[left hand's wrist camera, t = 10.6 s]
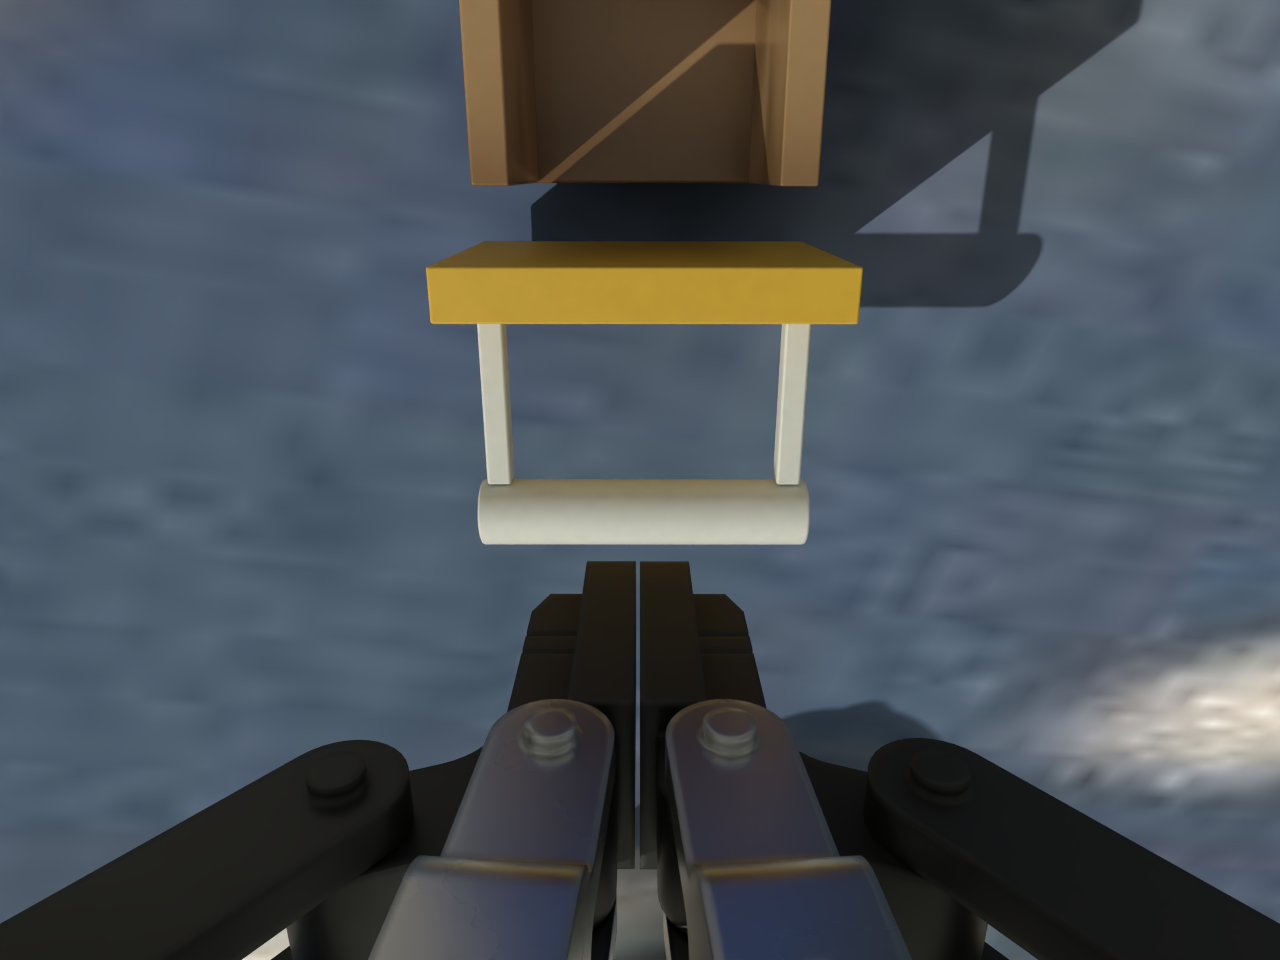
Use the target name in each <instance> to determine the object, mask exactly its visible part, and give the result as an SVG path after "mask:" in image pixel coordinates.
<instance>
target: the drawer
mask: <svg viewBox="0 0 1280 960" xmlns="http://www.w3.org/2000/svg"><path fill="white" fill-rule="evenodd" d="M459 7H460V22H461V38H462V53H463V68H464V84H465V99H466V115H467V130H468V145H469V161H470V176H471V184H472V185H473V186H512V185H521V184H531V183H755V184H765V185H775V186H818V184H819V172H820V158H821V143H822V129H823V115H824V100H825V86H826V72H827V57H828V43H829V28H830V14H831V0H459ZM426 273H427V284H428V296H429V308H430V319H431V323H433V324H477V328H478V343H479V358H480V373H481V388H482V403H483V418H484V433H485V448H486V464H487V479H485V480H483V482H482V484H481V487H480V491H479V499H478V527H479V534H480V538H481V541H482V542H483V543H484V544H804V543H805V542H806V540H807V536H808V532H809V523H810V502H809V493H808V489H807V485H806V483H805V481H804V480H801V479H800V474H801V460H802V446H803V431H804V417H805V403H806V389H807V375H808V361H809V346H810V332H811V324H857V323H858V320H859V309H860V298H861V287H862V276H863V268H862V267H860V266H858V265H855V264H853V263H851V262H848V261H846V260H844V259H841V258H839V257H837V256H834V255H832V254H830V253H827V252H825V251H823V250H820V249H818V248H816V247H813V246H811V245H809V244H806V243H804V242H802V241H485V242H482V243H480V244H478V245H476V246H474V247H471V248H469V249H467V250H465V251H462V252H460V253H458V254H456V255H453V256H451V257H449V258H447V259H444V260H442V261H440V262H438V263H435V264H433V265H431V266H429V267H427V268H426ZM506 324H782V335H781V352H780V369H779V386H778V403H777V420H776V437H775V454H774V471H773V476H774V479H513V477H514V462H513V443H512V425H511V407H510V388H509V370H508V351H507V333H506Z"/></svg>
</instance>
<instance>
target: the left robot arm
mask: <svg viewBox="0 0 1280 960" xmlns="http://www.w3.org/2000/svg"><path fill="white" fill-rule="evenodd" d="M635 741H636V561H587V565H586V572H585V579H584V586H583V594H550V595H549V596H548V597H547V598H546V599H545V600H544V601H543V602H542V603H541V604H540V605H539V606H537V607H536V608H535V609H534V610H533V611H532V613H531V618H530V622H529V626H528V630H527V636H526V638H525V642H524V646H523V654H521V658H520V662H519V666H518V670H517V674H516V678H515V682H514V686H513V690H512V695H511V699H510V703H509V707H508V711H507V713H506V714H504V715H503V716H502V717H501V718H499V719H498V720H497V721H496V722H495V724H494V725H493V726H492V727H491V729H490V731H489V733H488V735H487V738H486V740H485V743H484V746H483V747H481V748H480V749H478V750H476V751H475V752H473V753H471V754H469V755H467V756H465V757H462V758H459V759H457V760H454V761H450V762H447V763H443V764H439V765H435V766H430V767H426V768H421V769H417V770H412V771H409V768H408V764H407V762H406V759H405V758H404V757H403V755H402V754H401V753H400V752H399V751H397V750H396V749H395V748H393V747H391V746H389V745H387V744H383V743H380V742H376V741H369V740H350V741H342V742H336V743H332V744H328V745H324V746H321V747H319V748H316V749H313V750H311V751H309V752H307V753H305V754H303V755H301V756H299V757H297V758H295V759H293V760H292V761H290V762H288V763H286V764H284V765H283V766H281V767H279V768H277V769H275V770H274V771H272V772H270V773H268V774H267V775H265V776H263V777H261V778H259V779H258V780H256V781H254V782H252V783H251V784H249V785H247V786H245V787H243V788H242V789H240V790H238V791H236V792H234V793H233V794H231V795H229V796H227V797H226V798H224V799H222V800H220V801H218V802H217V803H215V804H213V805H211V806H209V807H208V808H206V809H204V810H202V811H201V812H199V813H197V814H195V815H193V816H192V817H190V818H188V819H186V820H185V821H183V822H181V823H179V824H177V825H176V826H174V827H172V828H170V829H168V830H167V831H165V832H163V833H161V834H160V835H158V836H156V837H154V838H152V839H151V840H149V841H147V842H145V843H143V844H142V845H140V846H138V847H136V848H135V849H133V850H131V851H129V852H127V853H126V854H124V855H122V856H120V857H119V858H117V859H115V860H113V861H111V862H110V863H108V864H106V865H104V866H102V867H101V868H99V869H97V870H95V871H94V872H92V873H90V874H88V875H86V876H85V877H83V878H81V879H79V880H78V881H76V882H74V883H72V884H70V885H69V886H67V887H65V888H63V889H61V890H60V891H58V892H56V893H54V894H53V895H51V896H49V897H47V898H45V899H44V900H42V901H40V902H38V903H36V904H35V905H33V906H31V907H29V908H28V909H26V910H24V911H22V912H20V913H19V914H17V915H15V916H13V917H12V918H10V919H8V920H6V921H4V922H3V923H1V924H0V960H242V959H243V958H245V957H246V956H247V955H249V954H250V953H252V952H253V951H254V950H256V949H257V948H259V947H260V946H261V945H263V944H264V943H266V942H267V941H268V940H270V939H271V938H273V937H274V936H275V935H277V934H278V933H280V932H281V931H282V930H284V929H285V928H287V933H288V938H289V943H290V946H289V947H287V948H286V949H285V950H283V951H282V952H281V953H279V954H278V955H277V956H275V957H274V958H273V959H271V960H613V958H614V949H615V941H616V933H617V910H616V887H617V869H634V866H635ZM640 869H657V879H658V897H659V902H660V905H661V908H662V910H663V933H664V941H665V949H666V958H667V960H1009V959H1007V958H1006V957H1005V956H1003V955H1002V954H1001V953H999V952H998V951H997V950H995V949H994V948H993V947H991V946H990V945H988V944H987V943H986V942H985V936H986V931H987V926H988V924H989V925H991V926H992V927H993V928H995V929H996V930H998V931H999V932H1000V933H1002V934H1003V935H1005V936H1006V937H1007V938H1009V939H1010V940H1012V941H1013V942H1014V943H1016V944H1017V945H1019V946H1020V947H1021V948H1023V949H1024V950H1026V951H1027V952H1028V953H1030V954H1031V955H1033V956H1034V957H1035V958H1037V959H1038V960H1280V924H1279V923H1277V922H1276V921H1274V920H1272V919H1270V918H1268V917H1267V916H1265V915H1263V914H1261V913H1260V912H1258V911H1256V910H1254V909H1252V908H1251V907H1249V906H1247V905H1245V904H1243V903H1242V902H1240V901H1238V900H1236V899H1235V898H1233V897H1231V896H1229V895H1227V894H1226V893H1224V892H1222V891H1220V890H1219V889H1217V888H1215V887H1213V886H1211V885H1210V884H1208V883H1206V882H1204V881H1202V880H1201V879H1199V878H1197V877H1195V876H1194V875H1192V874H1190V873H1188V872H1186V871H1185V870H1183V869H1181V868H1179V867H1177V866H1176V865H1174V864H1172V863H1170V862H1169V861H1167V860H1165V859H1163V858H1161V857H1160V856H1158V855H1156V854H1154V853H1153V852H1151V851H1149V850H1147V849H1145V848H1144V847H1142V846H1140V845H1138V844H1136V843H1135V842H1133V841H1131V840H1129V839H1128V838H1126V837H1124V836H1122V835H1120V834H1119V833H1117V832H1115V831H1113V830H1112V829H1110V828H1108V827H1106V826H1104V825H1103V824H1101V823H1099V822H1097V821H1095V820H1094V819H1092V818H1090V817H1088V816H1087V815H1085V814H1083V813H1081V812H1079V811H1078V810H1076V809H1074V808H1072V807H1070V806H1069V805H1067V804H1065V803H1063V802H1062V801H1060V800H1058V799H1056V798H1054V797H1053V796H1051V795H1049V794H1047V793H1046V792H1044V791H1042V790H1040V789H1038V788H1037V787H1035V786H1033V785H1031V784H1029V783H1028V782H1026V781H1024V780H1022V779H1021V778H1019V777H1017V776H1015V775H1013V774H1012V773H1010V772H1008V771H1006V770H1004V769H1003V768H1001V767H999V766H997V765H996V764H994V763H992V762H990V761H988V760H987V759H985V758H983V757H981V756H980V755H978V754H976V753H974V752H972V751H970V750H968V749H966V748H963V747H960V746H958V745H955V744H952V743H948V742H944V741H940V740H934V739H924V738H910V739H903V740H897V741H894V742H891V743H888V744H886V745H885V746H883V747H881V748H880V749H879V750H877V751H876V752H875V753H874V755H873V756H872V757H871V760H870V762H869V765H868V772H865V771H860V770H856V769H852V768H847V767H843V766H838V765H834V764H830V763H826V762H823V761H819V760H817V759H814V758H811V757H809V756H807V755H805V754H803V753H801V752H799V751H798V748H797V746H796V743H795V740H794V738H793V735H792V733H791V731H790V729H789V727H788V726H787V725H786V724H785V722H784V721H783V720H782V719H781V718H779V717H778V716H777V715H776V714H774V713H773V712H771V711H769V710H768V709H766V704H765V700H764V696H763V692H762V687H761V683H760V679H759V675H758V671H757V666H756V662H755V658H754V654H753V652H752V645H751V641H750V637H749V636H748V628H747V624H746V620H745V616H744V612H743V611H742V610H741V609H740V608H739V607H738V606H737V605H736V604H735V603H734V602H733V601H732V600H731V599H730V598H729V597H727V596H726V595H725V594H693V591H692V583H691V575H690V567H689V562H640Z"/></svg>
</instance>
